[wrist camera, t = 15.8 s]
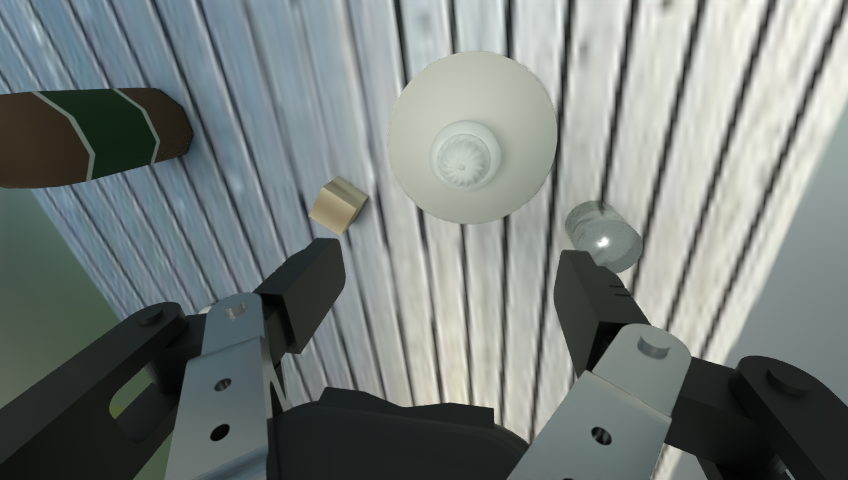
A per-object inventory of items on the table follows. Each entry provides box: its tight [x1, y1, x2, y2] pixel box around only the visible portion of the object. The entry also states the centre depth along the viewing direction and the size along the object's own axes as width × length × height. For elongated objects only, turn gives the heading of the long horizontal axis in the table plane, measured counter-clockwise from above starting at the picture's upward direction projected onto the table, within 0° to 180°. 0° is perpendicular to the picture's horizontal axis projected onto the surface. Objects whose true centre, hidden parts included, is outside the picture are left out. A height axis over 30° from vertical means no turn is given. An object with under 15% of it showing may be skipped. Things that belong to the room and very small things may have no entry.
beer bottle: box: [0, 88, 193, 188], centre depth 25 cm, size 8×8×24 cm
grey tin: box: [565, 201, 643, 274], centre depth 30 cm, size 5×5×6 cm
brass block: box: [309, 176, 368, 236], centre depth 35 cm, size 4×4×4 cm
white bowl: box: [388, 51, 557, 224], centre depth 31 cm, size 16×16×2 cm
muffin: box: [429, 120, 501, 192], centre depth 27 cm, size 6×6×7 cm
